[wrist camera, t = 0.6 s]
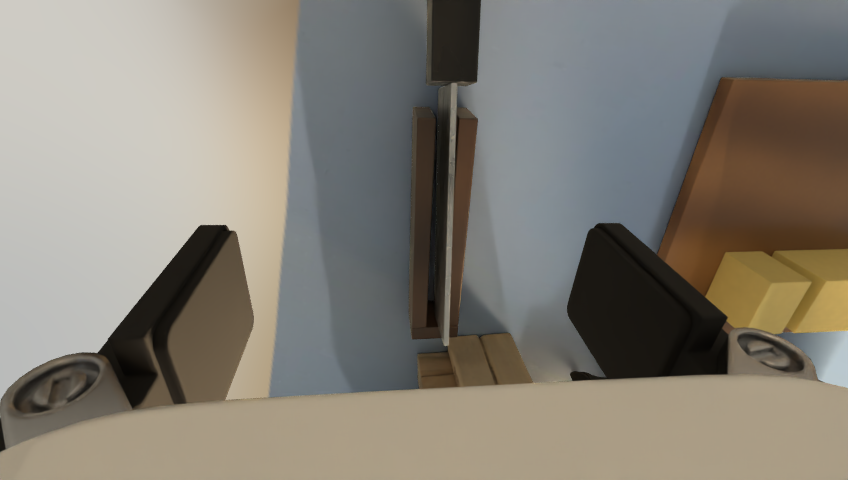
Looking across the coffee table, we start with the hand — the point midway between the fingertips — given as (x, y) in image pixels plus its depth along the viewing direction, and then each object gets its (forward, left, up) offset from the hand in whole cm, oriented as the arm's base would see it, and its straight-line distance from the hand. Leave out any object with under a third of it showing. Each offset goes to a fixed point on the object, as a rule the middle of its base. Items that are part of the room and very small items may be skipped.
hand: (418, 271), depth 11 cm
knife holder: (+5, +3, -15) cm, 16 cm away
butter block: (+10, +33, -14) cm, 37 cm away
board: (+6, +29, -15) cm, 33 cm away
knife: (-1, +3, -15) cm, 15 cm away
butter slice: (+10, +26, -14) cm, 31 cm away
